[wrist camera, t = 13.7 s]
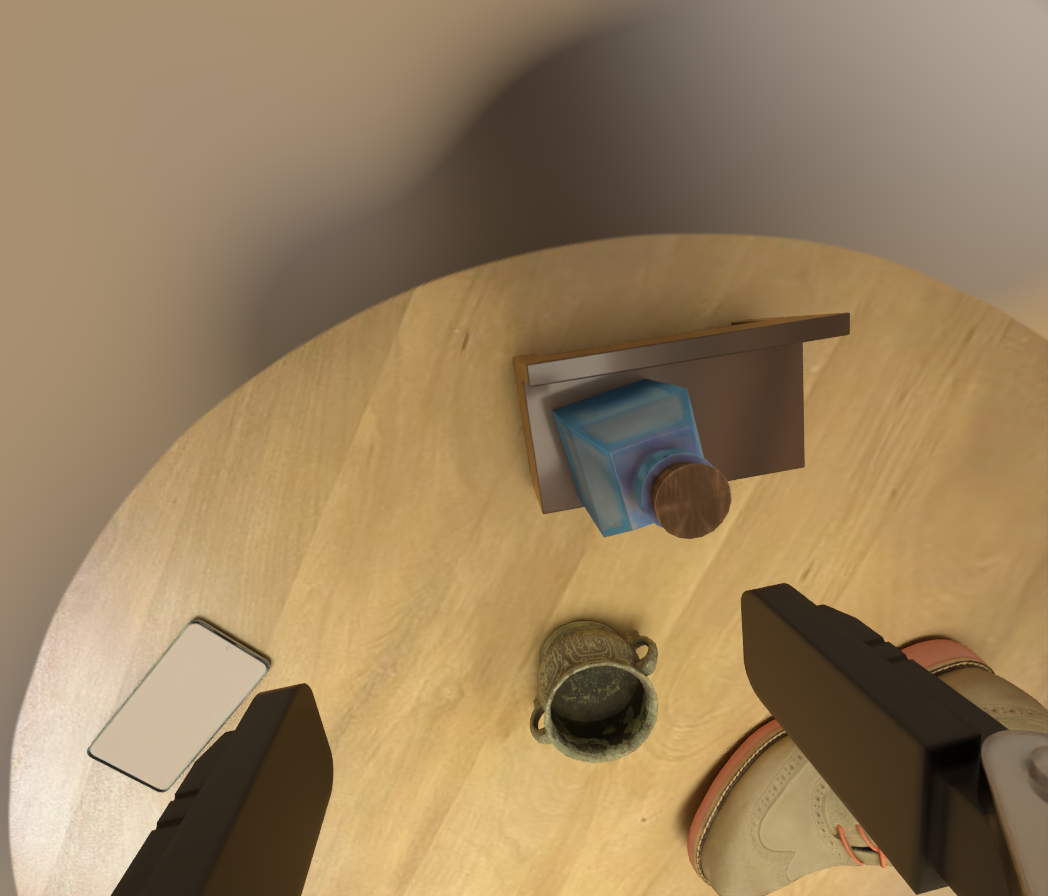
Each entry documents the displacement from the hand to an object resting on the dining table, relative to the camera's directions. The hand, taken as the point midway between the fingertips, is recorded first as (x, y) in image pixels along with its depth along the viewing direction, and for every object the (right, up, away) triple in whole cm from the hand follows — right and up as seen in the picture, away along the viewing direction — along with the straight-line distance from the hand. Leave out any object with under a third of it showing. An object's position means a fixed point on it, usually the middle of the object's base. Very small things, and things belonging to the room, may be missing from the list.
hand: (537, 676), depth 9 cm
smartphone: (-28, -16, +30) cm, 44 cm away
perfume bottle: (+5, +5, +22) cm, 23 cm away
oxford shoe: (+27, -23, +37) cm, 51 cm away
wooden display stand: (+9, +7, +28) cm, 30 cm away
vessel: (+5, -14, +33) cm, 36 cm away
